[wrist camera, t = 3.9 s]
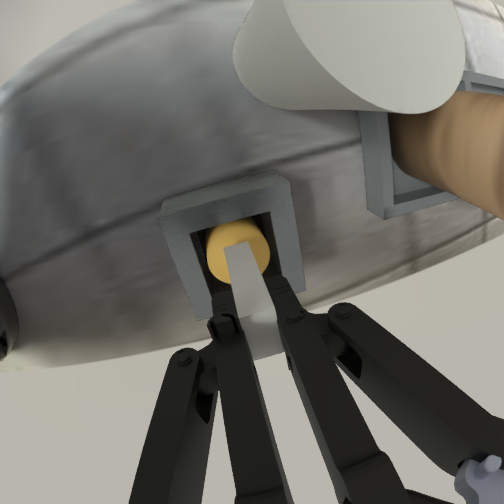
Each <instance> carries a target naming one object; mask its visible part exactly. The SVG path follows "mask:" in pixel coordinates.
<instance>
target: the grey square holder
mask: <svg viewBox="0 0 504 504" xmlns="http://www.w3.org/2000/svg"><path fill="white" fill-rule="evenodd" d="M260 213H261V215H262V219H263V224H264V229H265V233H266V238H267V243H268V246H269V250H270V259H269V263H268V265H267V267H266V269H265V270H264V272H263V273H262V274H261V275H262V277H263V279H266V278H270V277H273V276H277V275H282V276H283V277H285V278H287V280H288V282H289V284H290V286H291V287H292V289H293V291H294V293H299V292H302V291H305V290H306V285H305V277H304V270H303V263H302V256H301V250H300V243H299V237H298V230H297V224H296V218H295V212H294V206H293V200H292V194H291V188H290V183H289V181H288V180H286V179H285V178H284V177H282V176H281V175H280V174H278V173H277V172H276V171H274V170H268V171H264V172H260V173H256V174H252V175H248V176H244V177H240V178H236V179H232V180H229V181H225V182H221V183H217V184H214V185H210V186H207V187H203V188H200V189H196V190H193V191H189V192H186V193H182V194H179V195H176V196H173V197H169V198H166V199H164V201H163V204H162V206H161V209H160V212H159V215H158V217H157V218H158V221H159V224H160V227H161V229H162V232H163V235H164V238H165V240H166V243H167V246H168V248H169V251H170V254H171V256H172V259H173V261H174V264H175V267H176V269H177V272H178V274H179V277H180V279H181V282H182V284H183V287H184V289H185V291H186V294H187V296H188V299H189V301H190V303H191V306H192V308H193V310H194V313H195V315H196V317H197V320H198V321H199V320H203V319H207V318H211V317H212V316H213V312H212V303H211V300H212V298H213V296H214V294H215V293H219V292H223V291H226V290H230V289H232V286H231V284H228V283H225V282H223V281H221V280H219V279H218V278H216V277H215V276H214V275H213V274H212V272H211V271H210V270H209V269H208V266H207V263H206V260H205V257H204V254H203V251H202V248H201V245H200V242H199V238H198V235H197V232H196V231H199V230H202V229H206V228H209V227H213V226H216V225H220V224H223V223H227V222H231V221H234V220H238V219H242V218H245V217H249V216H253V215H257V214H260Z"/></svg>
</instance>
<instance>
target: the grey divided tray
mask: <svg viewBox="0 0 504 504" xmlns="http://www.w3.org/2000/svg"><path fill="white" fill-rule="evenodd" d="M456 90H461V91H472V92H482V93H490V94H497V95H504V80H503V79H500V78H496V77H492V76H487V75H483V74H478V73H474V72H469V71H463V75H462V78H461V81H460V83H459V85H458V87H457V89H456ZM357 113H358V120H359V127H360V134H361V142H362V151H363V160H364V170H365V181H366V195H367V209H368V210H369V211H371V212H373V213H374V214H376V215H377V216H379V217H380V218H382V219H383V220H386V219H389V218H393V217H396V216H400V215H403V214H407V213H410V212H413V211H417V210H420V209H424V208H427V207H431V206H434V205H438V204H441V203H445V202H448V201H451V200H455V199H458V198H459V197H457V196H455V195H453V194H450V193H448V192H446V191H444V190H442V189H439V188H437V187H435V186H433V185H430V184H428V183H426V182H423V181H421V180H418V179H416V178H413V177H411V176H409V175H407V174H405V173H404V172H403V171H402V170H401V169H400V168H399V167H398V166H397V165H396V163H395V162H394V160H393V158H392V156H391V145H390V135H389V126H388V115H389V112H381V111H364V110H357Z"/></svg>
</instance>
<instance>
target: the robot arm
mask: <svg viewBox="0 0 504 504" xmlns="http://www.w3.org/2000/svg"><path fill="white" fill-rule="evenodd" d="M223 249H224V253H225V258H226V263H227V268H228V272H229V277H230V282H231V286H232V289H230V290H226V291H223V292H219V293H215V294H214V296H213V298H212V300H211V303H212V312H213V316H212V317H211V318H210V320H209V321H208V324H207V327H208V330H209V332H210V334H211V337H212V339H213V340H212V342H211V343H210V344H209V345H208V346H206V347H204V348H203V349H201V350H199V351H196V350H195V349H193V348H183V349H181V350H179V351H177V352H175V353H174V354H173V355H172V357H171V359H170V361H169V364H168V367H167V370H166V373H165V377H164V380H163V383H162V386H161V390H160V392H159V396H158V399H157V402H156V405H155V409H154V412H153V416H152V419H151V422H150V426H149V429H148V433H147V436H146V440H145V443H144V446H143V450H142V454H141V458H140V461H139V465H138V468H137V472H136V476H135V480H134V484H133V488H132V492H131V496H130V499H129V504H201V502H202V495H203V489H204V482H205V475H206V468H207V462H208V455H209V449H210V442H211V436H212V429H213V422H214V416H215V409H216V403H217V397H218V391H220V398H221V405H222V412H223V418H224V425H225V431H226V437H227V443H228V449H229V455H230V461H231V466H232V472H233V476H234V482H235V488H236V497H235V503H234V504H294V502H293V499H292V496H291V492H290V489H289V486H288V482H287V479H286V475H285V472H284V469H283V465H282V462H281V458H280V455H279V451H278V448H277V444H276V441H275V437H274V434H273V430H272V427H271V423H270V419H269V416H268V413H267V409H266V405H265V401H264V398H263V394H262V390H261V387H260V383H259V379H258V375H257V371H256V368H255V365H254V362H253V361H254V360H258V359H261V358H265V357H268V356H272V355H275V354H278V353H282V352H284V351H285V354H286V358H287V363H288V367H289V370H291V373H292V376H293V378H294V380H295V384H296V386H297V389H298V392H299V394H300V397H301V400H302V402H303V405H304V408H305V411H306V413H307V416H308V419H309V421H310V424H311V426H312V429H313V432H314V435H315V437H316V440H317V443H318V445H319V448H320V451H321V453H322V456H323V459H324V462H325V464H326V467H327V469H328V472H329V475H330V478H331V480H332V483H333V486H334V489H335V493H336V497H337V500H338V503H339V504H454V503H450V502H446V501H443V500H440V499H437V498H434V497H431V496H428V495H425V494H422V493H419V492H416V491H413V490H409V489H405V488H404V486H403V484H402V482H401V480H400V478H399V476H398V474H397V472H396V470H395V468H394V466H393V464H392V462H391V460H390V458H389V457H388V455H387V454H386V453H385V452H383V451H381V450H380V449H379V448H378V446H377V444H376V442H375V440H374V438H373V436H372V434H371V432H370V430H369V428H368V426H367V424H366V422H365V420H364V418H363V416H362V414H361V412H360V410H359V408H358V406H357V404H356V402H355V400H354V398H353V397H352V395H351V393H350V391H349V389H348V387H347V385H346V383H345V381H344V379H343V377H342V375H341V373H340V371H339V370H338V367H337V366H336V364H337V365H338V366H339V367H340V368H341V369H342V370H343V371H344V372H345V374H347V376H348V377H349V378H350V379H351V380H352V381H354V383H355V384H356V385H357V386H358V387H359V388H360V389H361V390H362V391H363V392H364V393H365V394H366V395H367V396H368V397H369V398H370V399H371V400H372V401H373V402H374V403H375V404H376V405H377V406H378V407H379V408H380V409H381V410H382V411H383V412H384V413H385V414H386V415H387V416H388V418H389V419H391V421H392V422H393V423H394V424H395V425H396V426H398V428H399V429H400V430H401V431H402V432H403V433H404V434H405V435H406V436H407V437H409V439H410V440H411V441H412V442H414V444H415V445H416V446H417V447H418V448H419V449H420V450H421V451H422V452H424V454H426V456H427V457H428V458H429V459H431V460H432V461H433V462H434V463H435V464H436V465H437V466H438V467H440V468H441V469H442V470H444V471H445V472H447V473H449V474H450V475H452V476H455V481H454V486H455V490H456V491H457V493H459V494H460V495H461V496H463V497H464V499H465V500H466V504H504V419H501V418H498V417H495V416H492V415H491V414H490V413H488V412H487V411H486V410H485V409H484V408H482V407H481V406H480V405H479V404H478V403H476V402H475V401H474V400H473V399H472V398H470V397H469V396H468V395H467V394H466V393H464V392H463V391H462V390H461V389H459V388H458V387H457V386H456V385H455V384H453V383H452V382H451V381H450V380H448V379H447V378H446V377H445V376H444V375H442V374H441V373H440V372H439V371H437V370H436V369H435V368H434V367H432V366H431V365H430V364H429V363H427V362H426V361H425V360H424V359H422V358H421V357H420V356H419V355H417V354H416V353H415V352H414V351H412V350H411V349H410V348H408V347H407V346H406V345H405V344H404V343H402V342H401V341H400V340H399V339H397V338H396V337H395V336H393V335H392V334H391V333H390V332H388V331H387V330H386V329H385V328H383V327H382V326H381V325H379V324H378V323H377V322H376V321H374V320H373V319H372V318H370V317H369V316H368V315H367V314H365V313H364V312H363V311H361V310H360V309H359V308H357V307H356V306H355V305H353V304H351V303H346V302H344V303H338V304H335V305H333V306H332V307H331V308H330V309H329V311H328V313H324V314H313V313H309V312H307V310H306V309H304V308H302V306H301V304H300V302H299V301H298V299H297V297H296V295H295V293H294V291H293V289H292V287H291V286H290V284H289V282H288V280H287V278H285V277H283V276H282V275H277V276H273V277H270V278H266V279H263V277H262V275H261V272H260V270H259V267H258V265H257V263H256V260H255V258H254V255H253V253H252V250H251V248H250V245H249V243H248V241H246V242H242V243H238V244H235V245H231V246H228V247H224V248H223ZM17 335H18V320H17V315H16V311H15V308H14V305H13V302H12V300H11V297H10V295H9V293H8V291H7V289H6V287H5V285H4V283H3V281H2V280H1V278H0V362H1V361H2V360H3V359H5V358H6V357H7V355H8V354H9V352H10V350H11V349H12V347H13V345H14V343H15V341H16V339H17ZM335 363H336V364H335Z"/></svg>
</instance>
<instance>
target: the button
mask: <svg viewBox="0 0 504 504" xmlns="http://www.w3.org/2000/svg"><path fill="white" fill-rule="evenodd" d="M246 241H248V243H249V245H250V248H251V250H252V253H253V255H254V258H255V260H256V263H257V265H258V267H259V270H260V272H261V274H262V273H263V272H264V270H265V269H266V267H267V265H268V263H269V259H270V250H269V246H268V244H267V242H266V240H265V238H264V236H263V234H262V232H261V231H260V229H259V227H258V225H257V224H256V222H255V221H254V220H253V219H252V218H251V217H245V218H242V219H238V220H234V221H231V222H227V223H223V224H220V225H216V226H213V227H209V228H208V229H207V232H206V251H207V262H208V266H209V269H210V271H211V272H212V274H213V275H214V276H215V277H216V278H218V279H219V280H221V281H223V282H225V283H228V284H231V282H230V277H229V272H228V268H227V263H226V258H225V253H224V249H223V248H224V247H228V246H231V245H235V244H238V243H242V242H246Z"/></svg>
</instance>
